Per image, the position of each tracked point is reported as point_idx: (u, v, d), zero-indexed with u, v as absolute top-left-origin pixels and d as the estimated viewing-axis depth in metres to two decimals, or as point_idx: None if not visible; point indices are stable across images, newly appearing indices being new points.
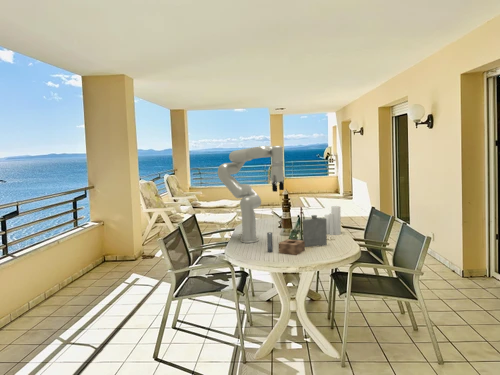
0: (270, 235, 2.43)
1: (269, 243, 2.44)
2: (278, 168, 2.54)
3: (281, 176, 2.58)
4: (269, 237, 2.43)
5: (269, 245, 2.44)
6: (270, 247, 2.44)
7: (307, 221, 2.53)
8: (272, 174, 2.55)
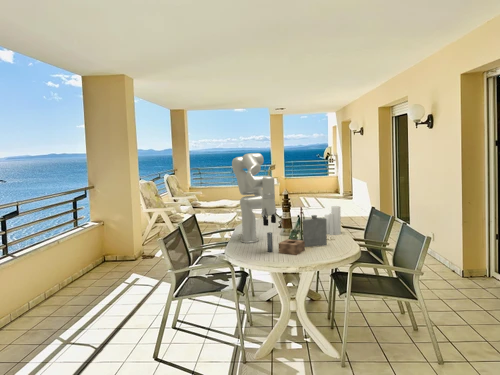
0: (270, 235, 2.43)
1: (269, 243, 2.44)
2: (269, 201, 2.39)
3: (273, 209, 2.42)
4: (269, 237, 2.43)
5: (269, 245, 2.44)
6: (270, 247, 2.44)
7: (307, 221, 2.53)
8: (263, 207, 2.39)
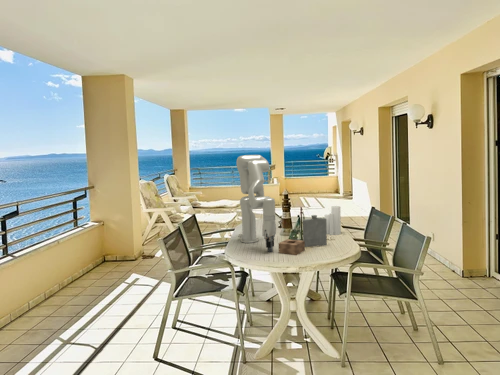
0: None
1: None
2: (270, 222, 2.40)
3: (273, 230, 2.44)
4: None
5: None
6: None
7: (307, 221, 2.53)
8: (263, 228, 2.41)
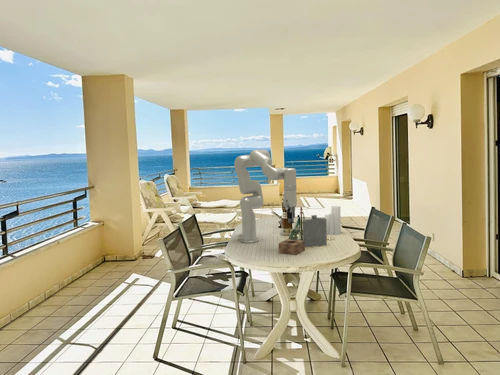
0: None
1: None
2: (291, 192, 2.37)
3: (294, 201, 2.41)
4: None
5: None
6: None
7: (307, 221, 2.53)
8: (284, 199, 2.38)
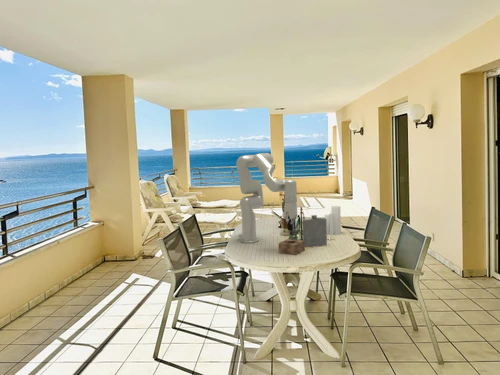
0: None
1: None
2: (291, 204, 2.38)
3: (295, 212, 2.41)
4: None
5: None
6: (292, 230, 2.41)
7: (307, 221, 2.53)
8: (285, 210, 2.38)
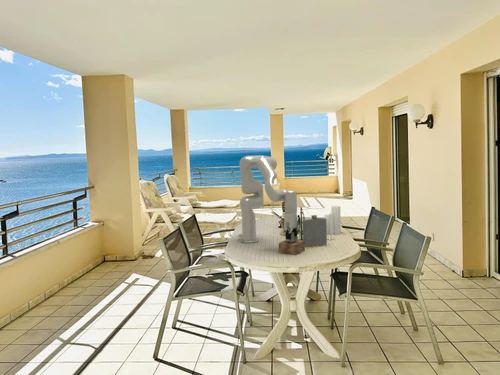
0: (292, 235, 2.42)
1: None
2: (292, 215, 2.39)
3: (295, 222, 2.42)
4: (291, 237, 2.42)
5: None
6: None
7: (307, 221, 2.53)
8: (285, 221, 2.39)
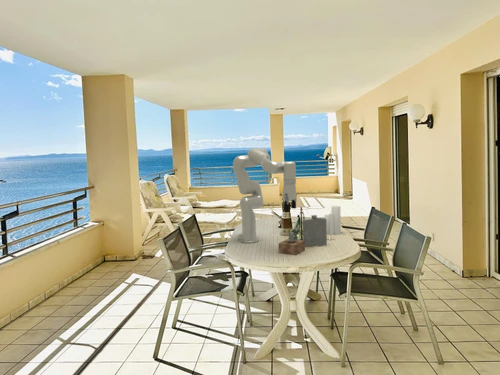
0: (292, 235, 2.42)
1: None
2: (290, 186, 2.38)
3: (293, 194, 2.42)
4: (291, 237, 2.42)
5: None
6: None
7: (307, 221, 2.53)
8: (284, 192, 2.39)
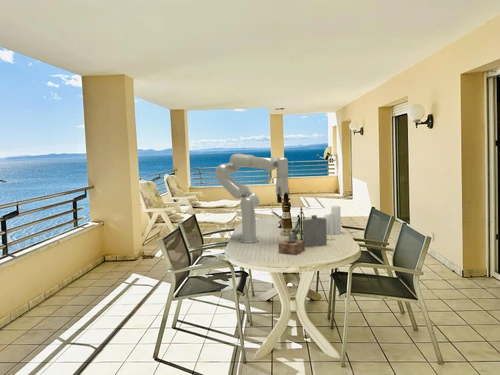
0: (292, 235, 2.42)
1: None
2: (283, 180, 2.58)
3: (286, 187, 2.62)
4: (291, 237, 2.42)
5: None
6: None
7: (307, 221, 2.53)
8: (277, 186, 2.59)
